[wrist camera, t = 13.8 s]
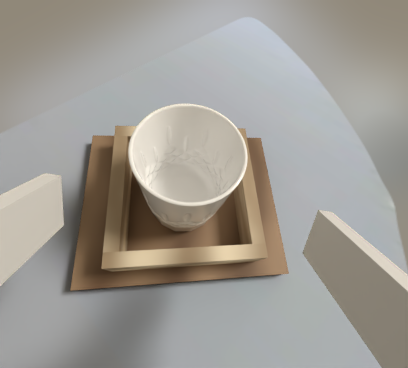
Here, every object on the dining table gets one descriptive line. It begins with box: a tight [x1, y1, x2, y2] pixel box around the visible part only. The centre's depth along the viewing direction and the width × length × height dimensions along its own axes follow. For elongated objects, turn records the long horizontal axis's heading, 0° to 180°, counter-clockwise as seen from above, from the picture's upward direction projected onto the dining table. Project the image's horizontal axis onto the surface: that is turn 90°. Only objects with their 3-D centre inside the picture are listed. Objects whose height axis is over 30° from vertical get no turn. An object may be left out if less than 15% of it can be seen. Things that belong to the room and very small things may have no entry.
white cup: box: [128, 104, 248, 231], centre depth 20 cm, size 8×8×10 cm
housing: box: [70, 126, 289, 291], centre depth 23 cm, size 20×16×5 cm
